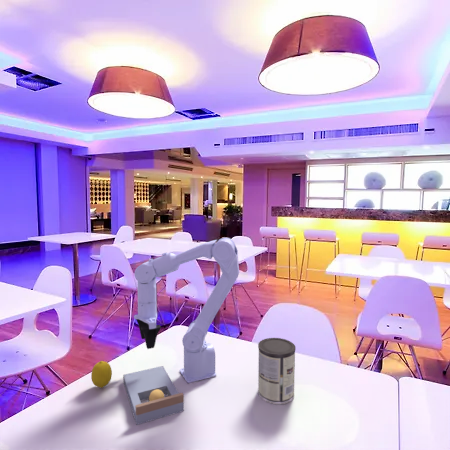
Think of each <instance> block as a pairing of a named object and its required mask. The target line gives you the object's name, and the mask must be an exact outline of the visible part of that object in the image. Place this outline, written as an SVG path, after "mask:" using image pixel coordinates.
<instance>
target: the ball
mask: <svg viewBox="0 0 450 450" xmlns="http://www.w3.org/2000/svg"><path fill="white" fill-rule="evenodd" d="M164 397H165V394H164V393H163V392H162V391H161V390H159V389H156V390H154V391H152V392H151V394H150V396H149V399H148V402H149V401H153V400H157V399H160V398H164Z"/></svg>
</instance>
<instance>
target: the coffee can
mask: <svg viewBox="0 0 450 450" xmlns="http://www.w3.org/2000/svg"><path fill="white" fill-rule="evenodd" d="M257 345H258V346H257V347H258V371H257V372H258V380H257V381H258V383H257V384H258V388H257V393H258V396H259V397H260V399H262V400H263V401H265V402H266V403H269V404H271V405H272V404H274V405H286V404H289V403H290V402H292V401H293V400H294V398H295V370H296V369H295V368H296V367H295V366H296V363H295V361H296V359H295V358H296V344H295V343H293V342H292V341H290V340H288V339H285V338H281V337H269V338H264V339H262V340H260V341H259V342H258V343H257Z"/></svg>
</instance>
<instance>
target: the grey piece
mask: <svg viewBox="0 0 450 450" xmlns="http://www.w3.org/2000/svg"><path fill="white" fill-rule="evenodd" d="M122 377H123V380H122V381H123V385H124V389H125V391H126V395H127V400H128V401H129V404H130V407H131V411H132V415H133V417H134V421H135V424H136V425H142V424H144V423H147V422H151V421H155V420H158V419H161V418H165V417H167V416H171V415H174V414H177V413H182V412H184V410H185V408H184V407H185V404H184V403H185V402H184V401H185V399H184V397H185V395H184V393H183V392H179V391H178V389H177V388H176V386H175V384H174V383H173V381H172V379H171V378H170V375H169V374H168V372H167V370H166V369H165V367H164V365H161V366H156V367H152V368H148V369H143V370H140V371H139V370H138V371H134V372H130V373H126V374H123V375H122ZM156 389H159V390H161V391H162V392H163V393H164V395H166V397H165V396H164V398H160V399H157V400H153V401H149V396H150V394H151V392H152V391H154V390H156ZM145 400H148V401H147V402H142V401H145Z"/></svg>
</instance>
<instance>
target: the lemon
mask: <svg viewBox="0 0 450 450" xmlns="http://www.w3.org/2000/svg"><path fill="white" fill-rule="evenodd" d="M90 375H91V382H92V384H93V385H94V386H95V387H97V388H100V389H103V388H104V387H106V386H107V385H109V384H110V382H111V380H112V375H113V371H112V366H111V365H110V364H109V363H108V362H107V361H103V360H100V361H98V362H97V363H95V364H94V366H93V367H92V370H91V374H90Z"/></svg>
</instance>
